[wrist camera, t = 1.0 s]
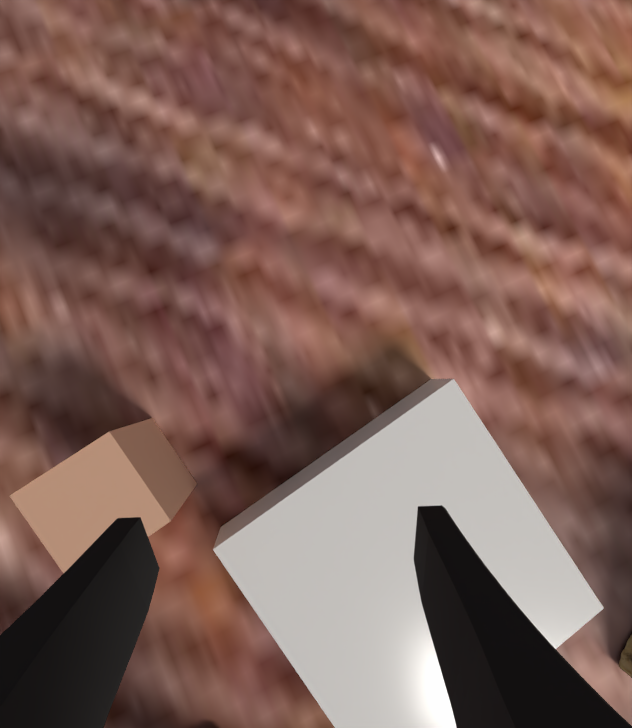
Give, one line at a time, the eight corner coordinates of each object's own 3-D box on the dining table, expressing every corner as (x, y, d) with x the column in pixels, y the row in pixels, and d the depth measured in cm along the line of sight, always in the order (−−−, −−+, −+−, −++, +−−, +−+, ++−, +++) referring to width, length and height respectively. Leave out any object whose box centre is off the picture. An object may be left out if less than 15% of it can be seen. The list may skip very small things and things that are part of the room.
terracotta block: (127, 531, 22) (73, 588, 16) (80, 464, 22) (9, 496, 16) (197, 483, 23) (170, 521, 17) (152, 417, 22) (109, 431, 16)
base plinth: (366, 741, 23) (381, 795, 20) (220, 527, 22) (213, 549, 20) (563, 580, 25) (603, 608, 22) (431, 378, 24) (453, 378, 21)
